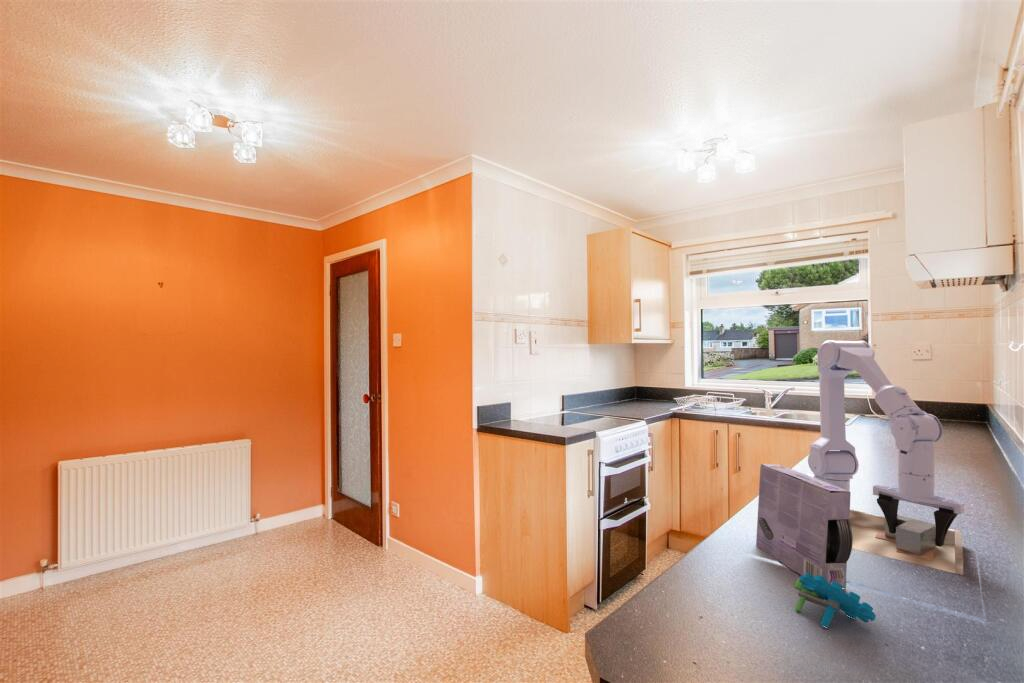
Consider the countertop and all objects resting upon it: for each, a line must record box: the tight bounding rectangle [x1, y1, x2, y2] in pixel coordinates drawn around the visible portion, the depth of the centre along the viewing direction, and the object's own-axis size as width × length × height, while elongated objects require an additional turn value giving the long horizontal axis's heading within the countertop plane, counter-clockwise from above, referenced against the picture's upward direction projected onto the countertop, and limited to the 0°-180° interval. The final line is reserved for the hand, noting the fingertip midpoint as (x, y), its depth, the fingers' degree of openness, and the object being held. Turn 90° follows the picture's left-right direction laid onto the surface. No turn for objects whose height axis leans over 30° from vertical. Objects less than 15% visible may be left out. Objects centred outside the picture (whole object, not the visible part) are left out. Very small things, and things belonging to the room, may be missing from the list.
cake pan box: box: [755, 463, 853, 588], centre depth 92 cm, size 19×5×18 cm, turn 9°
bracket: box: [885, 514, 936, 556], centre depth 101 cm, size 9×8×4 cm
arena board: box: [849, 509, 964, 576], centre depth 103 cm, size 23×18×4 cm
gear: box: [794, 573, 876, 628], centre depth 74 cm, size 11×6×10 cm
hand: (915, 538), depth 100 cm, fingers open, 7 cm apart
